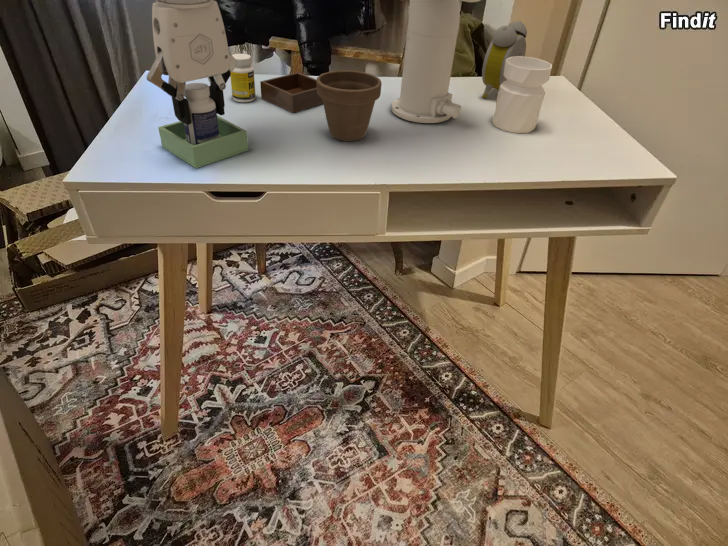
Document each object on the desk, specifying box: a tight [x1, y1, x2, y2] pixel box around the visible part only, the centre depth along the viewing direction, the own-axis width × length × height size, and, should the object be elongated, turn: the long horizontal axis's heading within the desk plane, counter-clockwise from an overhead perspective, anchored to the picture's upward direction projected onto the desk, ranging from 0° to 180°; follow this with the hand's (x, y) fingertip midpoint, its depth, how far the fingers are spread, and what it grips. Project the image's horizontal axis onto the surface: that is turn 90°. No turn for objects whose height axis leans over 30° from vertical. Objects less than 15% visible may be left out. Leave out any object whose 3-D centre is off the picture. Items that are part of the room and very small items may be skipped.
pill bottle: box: [184, 82, 220, 146], centre depth 81 cm, size 5×5×10 cm
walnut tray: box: [259, 71, 323, 114], centre depth 104 cm, size 10×10×4 cm
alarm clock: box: [481, 20, 528, 99], centre depth 110 cm, size 12×7×15 cm, turn 144°
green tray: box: [158, 115, 249, 169], centre depth 84 cm, size 10×10×4 cm
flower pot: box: [316, 69, 382, 142], centre depth 90 cm, size 12×11×10 cm
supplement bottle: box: [229, 53, 256, 103], centre depth 101 cm, size 5×5×8 cm
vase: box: [491, 56, 553, 134], centre depth 98 cm, size 9×9×12 cm
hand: (201, 116), depth 81 cm, fingers closed on pill bottle, 5 cm apart
